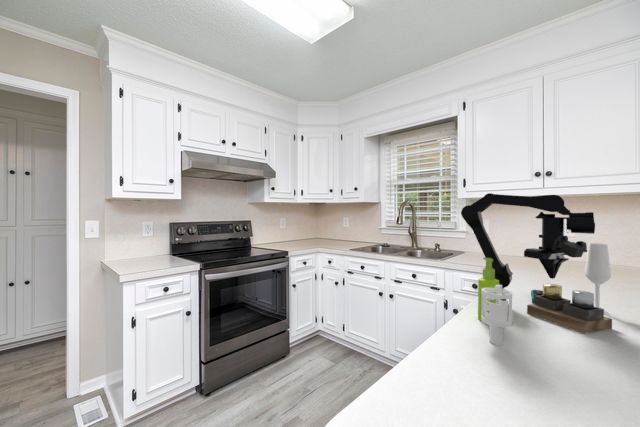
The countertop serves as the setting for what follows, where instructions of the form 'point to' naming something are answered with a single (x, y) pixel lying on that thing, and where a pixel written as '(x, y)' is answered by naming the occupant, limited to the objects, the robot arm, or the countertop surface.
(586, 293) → the steel knob
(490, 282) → the soap dispenser
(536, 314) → the knob console
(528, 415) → the countertop surface
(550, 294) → the brass knob
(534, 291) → the digital multimeter
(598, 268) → the champagne flute
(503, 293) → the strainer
